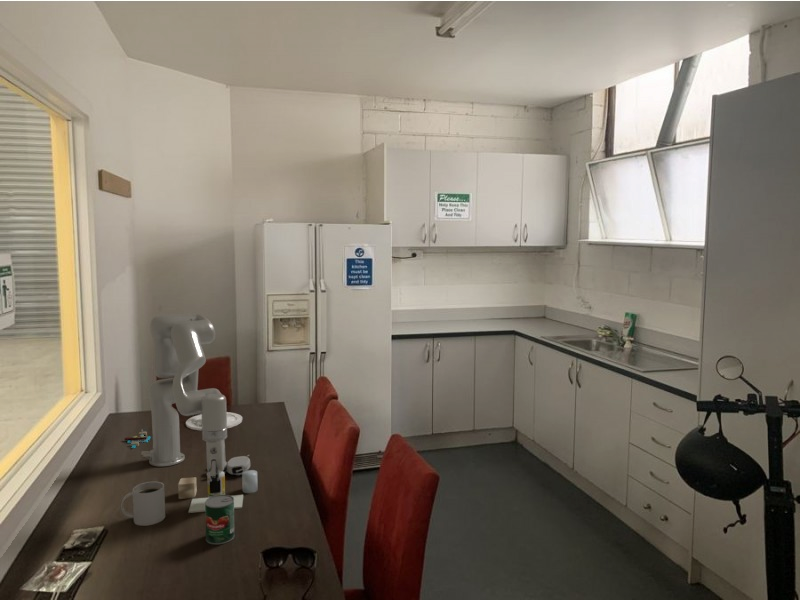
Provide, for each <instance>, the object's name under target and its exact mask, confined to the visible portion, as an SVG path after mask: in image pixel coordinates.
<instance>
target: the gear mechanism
mask: <svg viewBox="0 0 800 600" xmlns="http://www.w3.org/2000/svg"><path fill="white" fill-rule="evenodd" d="M144 435H146V436H144ZM151 437H152V436H150V435H149V436H148V432H147V431H145V430H144V429H143V428H141V431H140V432H138V435H134V436H130V437H129V436H128V437H125V438H124V441H127V443H131V444H130V449H131V448H136V446H137V447H139V446H140V443H139V442H142V443H141V444H144V443H143V442H147V443H148V442H149V441H150V440H151ZM145 438H146V439H145ZM135 440H137V441H135ZM139 440H140V441H139ZM141 440H144V441H141ZM148 440H149V441H148ZM131 446H132V447H131Z"/></svg>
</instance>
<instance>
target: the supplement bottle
mask: <svg viewBox="0 0 800 600" xmlns="http://www.w3.org/2000/svg"><path fill="white" fill-rule="evenodd" d="M216 470H218V469H216ZM207 473H208V472H207ZM216 474H217V473H216ZM225 474H226V473H224V472H223V471H220V472H219V480H220V485H221V492H220V493H210V472H209V473H208V475H207V474H206V476H207V478H206V479H207V480H206V481H207V496H208V497H207V498H210V497H213V496H216V495H226V476H225Z"/></svg>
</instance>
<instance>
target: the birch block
mask: <svg viewBox="0 0 800 600" xmlns="http://www.w3.org/2000/svg"><path fill="white" fill-rule="evenodd" d="M177 486H178V488H177V489H178V490H177V491H178V499H179V500H183V499H184V500H186V499H196V495H197V492H198V489H197V488H198V486H197V477H196V476H195V477H182V478H180V479H179V481H178V484H177Z"/></svg>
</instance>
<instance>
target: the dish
mask: <svg viewBox="0 0 800 600" xmlns="http://www.w3.org/2000/svg"><path fill="white" fill-rule="evenodd" d="M242 422H243V416H242V415H241V414H238V413H236V412H230V411H229V412H228V411H227V429H230V428H234V427H236V426H238V425H239V424H241V423H242ZM185 426H186V427H187V428H188V429H190V430H195V431H201V432H202V413H200V414H196V415H195V416H194V415H193V416H192V417H190V418H188V419H186V421H185Z"/></svg>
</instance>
